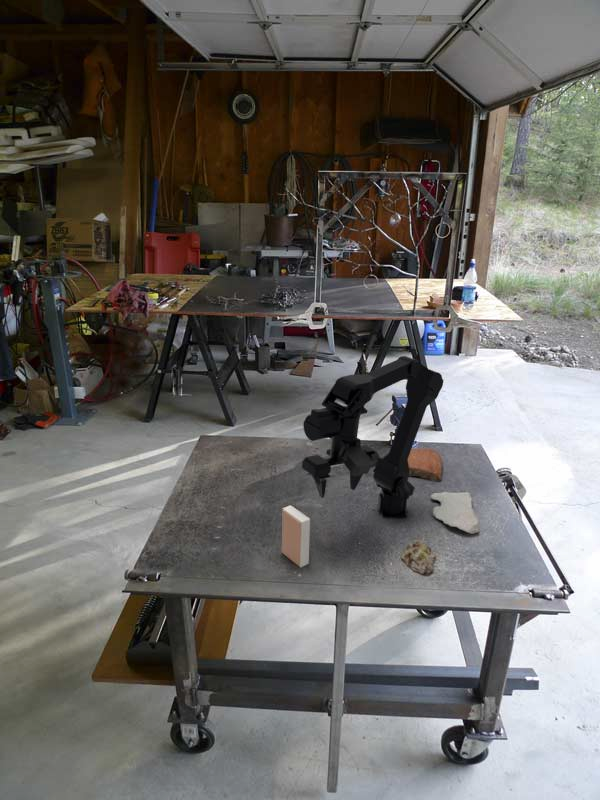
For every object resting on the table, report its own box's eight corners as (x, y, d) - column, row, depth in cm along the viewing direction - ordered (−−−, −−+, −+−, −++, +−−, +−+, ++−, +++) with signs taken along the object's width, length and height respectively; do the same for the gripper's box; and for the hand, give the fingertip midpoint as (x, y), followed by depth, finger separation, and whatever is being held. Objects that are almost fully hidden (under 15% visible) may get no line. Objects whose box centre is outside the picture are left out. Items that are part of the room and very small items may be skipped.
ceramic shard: (394, 438, 187) (442, 450, 185) (389, 457, 188) (437, 469, 187) (393, 454, 173) (444, 467, 171) (387, 474, 174) (439, 487, 173)
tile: (289, 548, 142) (290, 505, 137) (308, 563, 137) (310, 518, 132) (281, 552, 140) (281, 508, 136) (299, 567, 135) (301, 522, 131)
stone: (467, 485, 166) (494, 521, 147) (466, 498, 167) (494, 536, 148) (422, 489, 165) (443, 526, 146) (421, 502, 166) (443, 540, 147)
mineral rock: (394, 541, 142) (427, 531, 142) (397, 555, 144) (429, 545, 144) (407, 571, 132) (442, 561, 132) (410, 586, 134) (445, 576, 134)
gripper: (333, 452, 125) (325, 518, 131) (399, 439, 136) (389, 500, 141) (303, 433, 134) (297, 495, 139) (367, 422, 144) (359, 480, 149)
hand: (337, 493), depth 142 cm, fingers open, 9 cm apart
